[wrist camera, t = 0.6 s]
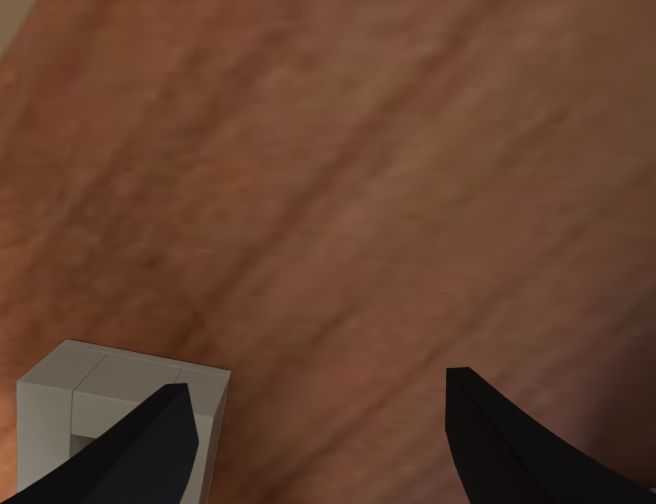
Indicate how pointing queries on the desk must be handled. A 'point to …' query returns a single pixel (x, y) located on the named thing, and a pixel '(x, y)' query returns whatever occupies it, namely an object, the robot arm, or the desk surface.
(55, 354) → the beige square socket block
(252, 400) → the desk surface
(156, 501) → the robot arm
